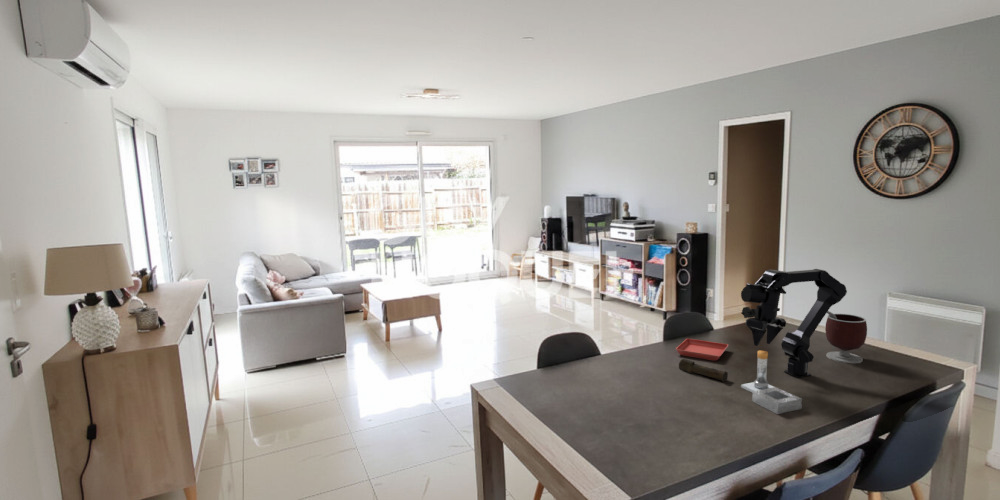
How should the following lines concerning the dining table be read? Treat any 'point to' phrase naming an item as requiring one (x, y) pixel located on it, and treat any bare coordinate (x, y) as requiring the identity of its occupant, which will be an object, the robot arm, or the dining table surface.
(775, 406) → the block
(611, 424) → the dining table surface
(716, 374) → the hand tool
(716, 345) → the plant saucer
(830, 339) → the mate gourd
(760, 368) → the silver metal peg
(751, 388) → the rubber mat
